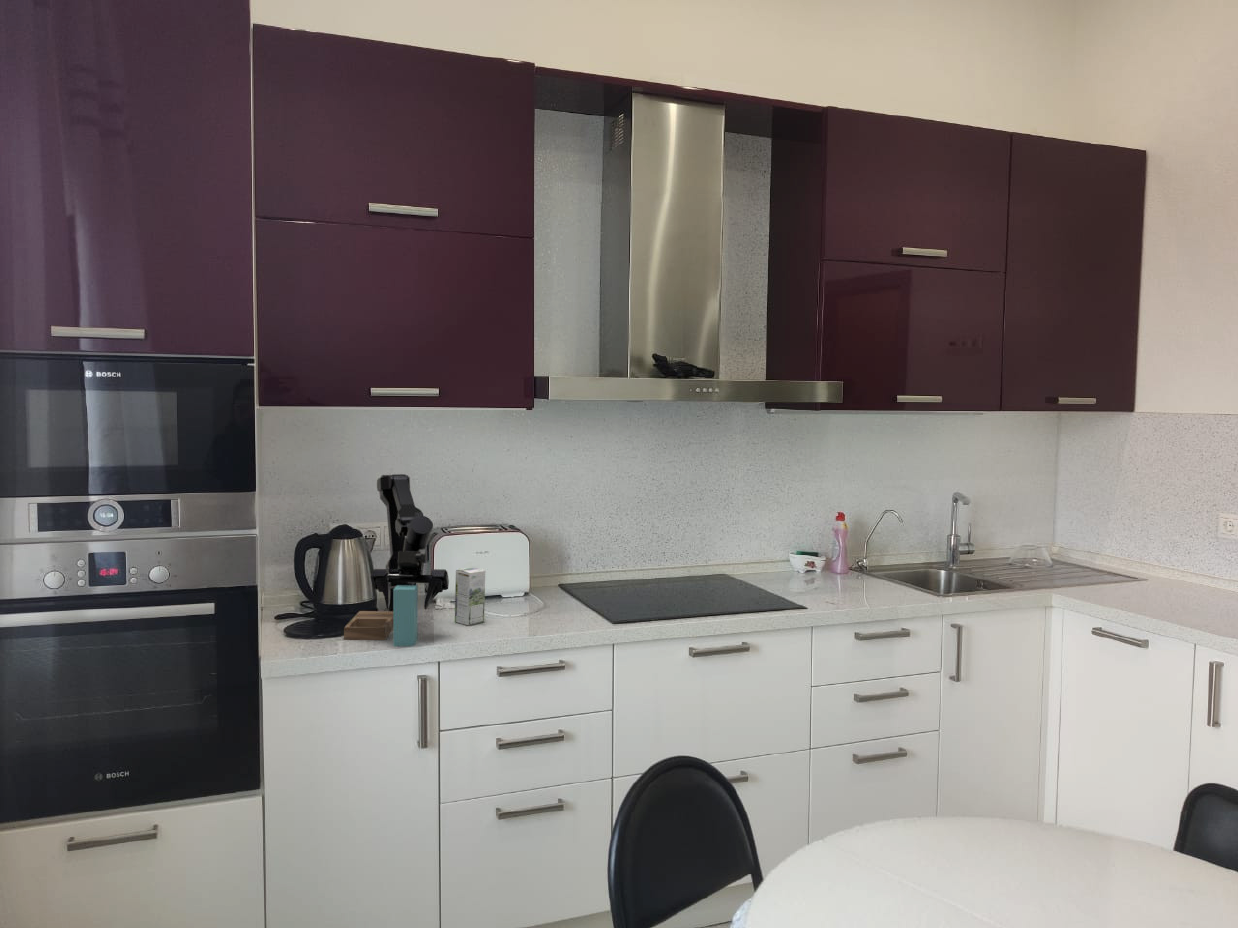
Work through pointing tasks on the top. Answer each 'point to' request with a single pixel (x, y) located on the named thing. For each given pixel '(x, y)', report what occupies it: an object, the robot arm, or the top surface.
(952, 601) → the top surface
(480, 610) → the syrup box
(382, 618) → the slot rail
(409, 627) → the teal peg block
